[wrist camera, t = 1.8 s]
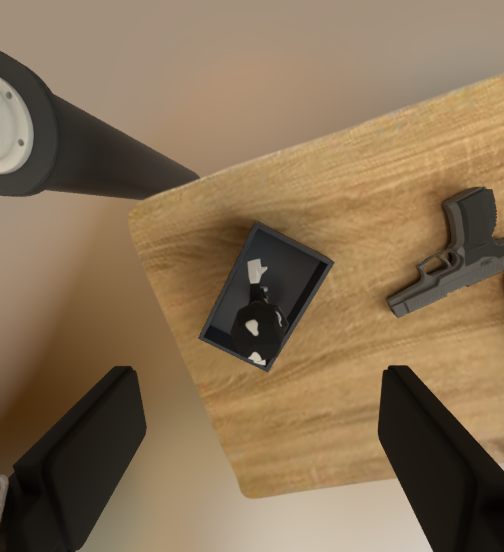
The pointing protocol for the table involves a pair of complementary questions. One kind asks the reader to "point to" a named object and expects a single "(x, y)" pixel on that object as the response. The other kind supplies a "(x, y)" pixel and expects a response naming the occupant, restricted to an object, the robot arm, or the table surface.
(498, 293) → the table surface
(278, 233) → the dark grey open box
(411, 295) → the handgun
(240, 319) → the toy
